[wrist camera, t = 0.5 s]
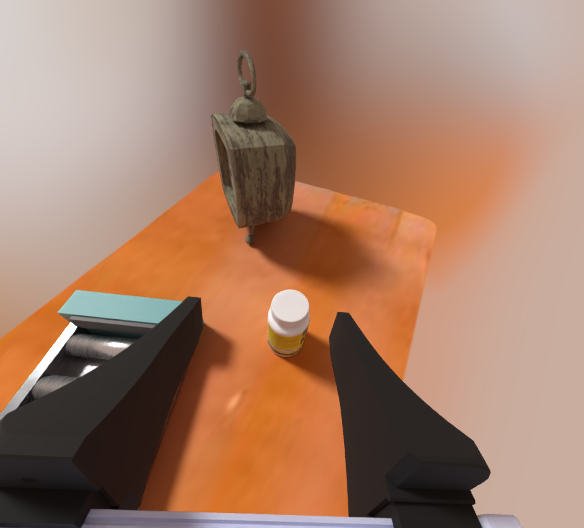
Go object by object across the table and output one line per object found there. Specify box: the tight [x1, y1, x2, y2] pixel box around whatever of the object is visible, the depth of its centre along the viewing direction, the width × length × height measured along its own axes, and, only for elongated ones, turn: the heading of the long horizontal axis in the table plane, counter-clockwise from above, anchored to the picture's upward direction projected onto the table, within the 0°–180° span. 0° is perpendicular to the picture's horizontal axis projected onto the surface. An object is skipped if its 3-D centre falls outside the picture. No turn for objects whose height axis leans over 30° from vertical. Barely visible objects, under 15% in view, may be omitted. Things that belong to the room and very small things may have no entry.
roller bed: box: [0, 322, 189, 510], centre depth 21 cm, size 22×14×3 cm, turn 176°
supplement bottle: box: [268, 290, 310, 357], centre depth 28 cm, size 5×5×8 cm
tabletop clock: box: [211, 50, 296, 244], centre depth 37 cm, size 14×9×25 cm, turn 23°
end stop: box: [58, 290, 204, 338], centre depth 28 cm, size 4×14×5 cm, turn 86°
